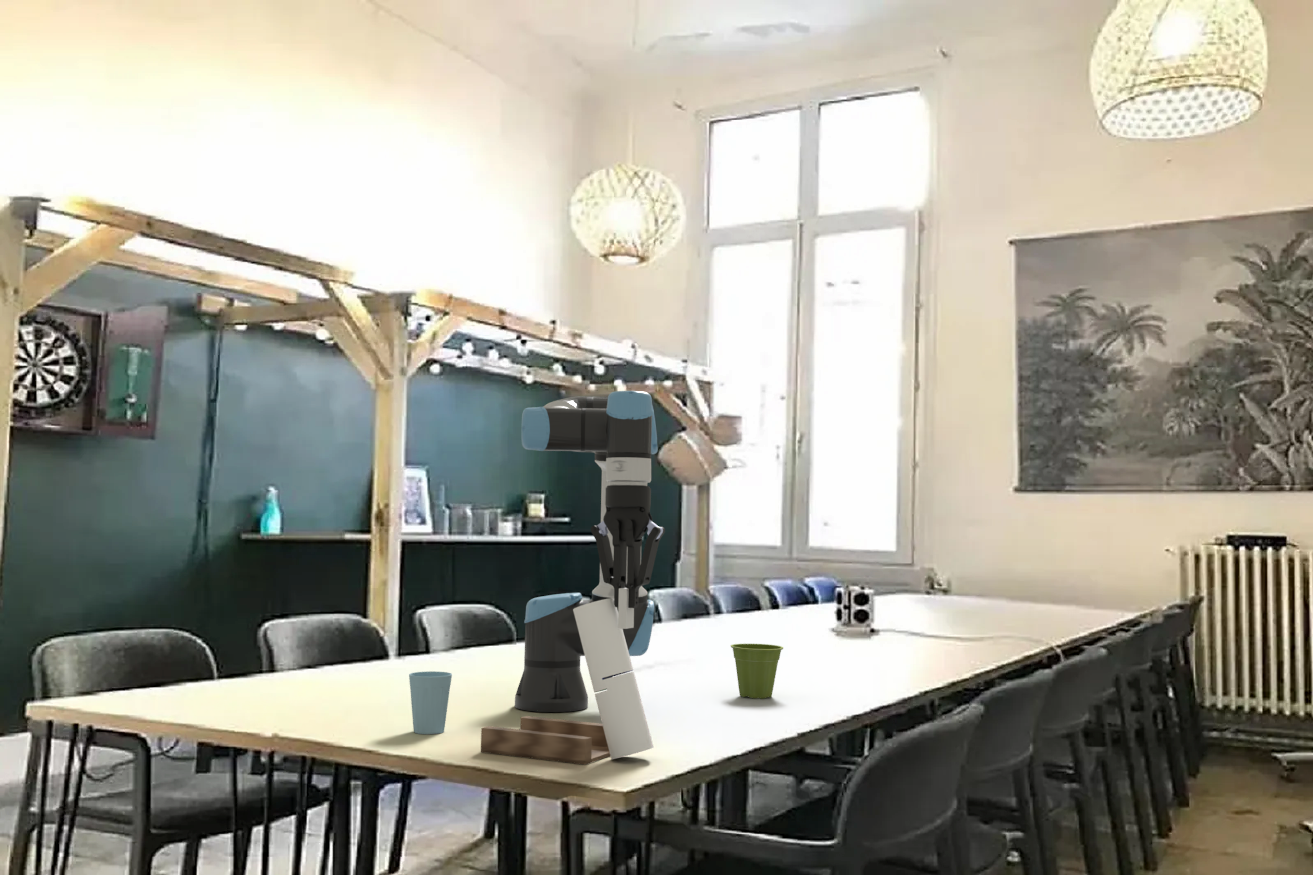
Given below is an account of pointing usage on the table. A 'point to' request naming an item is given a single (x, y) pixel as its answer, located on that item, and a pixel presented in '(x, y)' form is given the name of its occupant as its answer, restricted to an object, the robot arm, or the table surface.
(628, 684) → the cylindrical container
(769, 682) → the plant pot
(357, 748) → the table surface
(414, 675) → the cup
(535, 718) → the walnut U-channel
